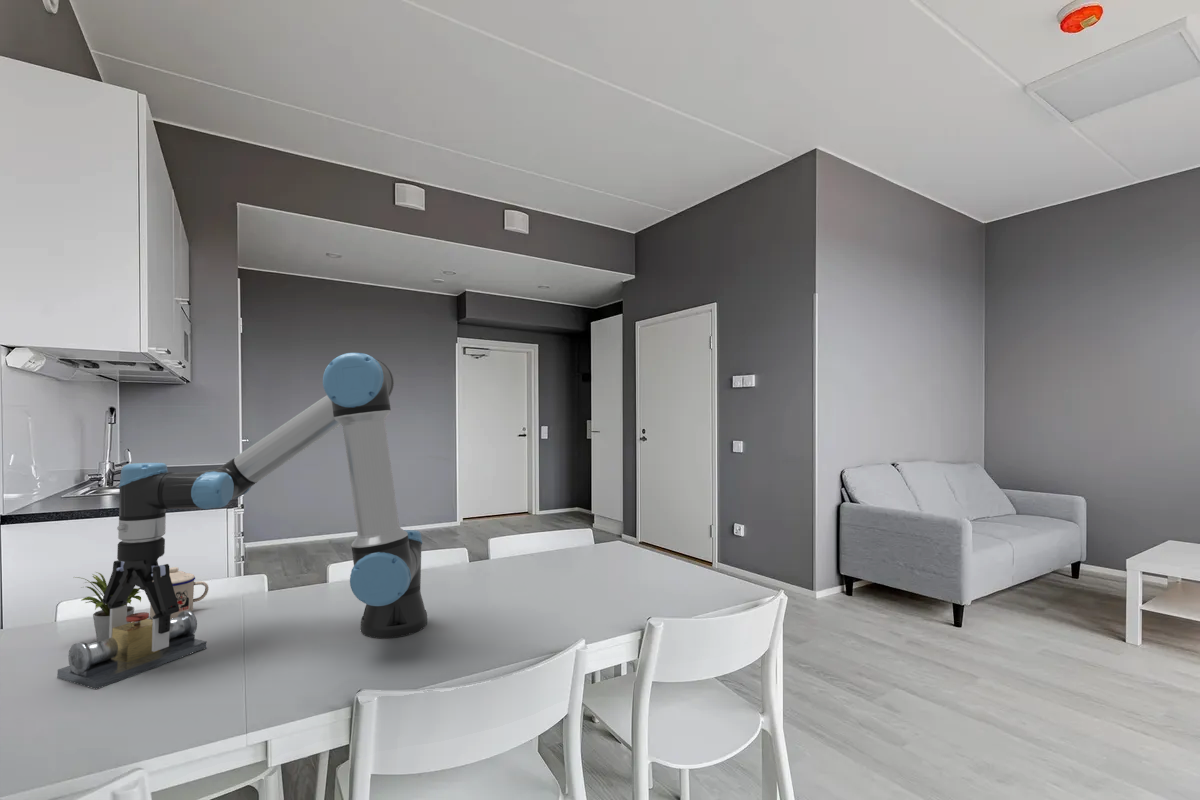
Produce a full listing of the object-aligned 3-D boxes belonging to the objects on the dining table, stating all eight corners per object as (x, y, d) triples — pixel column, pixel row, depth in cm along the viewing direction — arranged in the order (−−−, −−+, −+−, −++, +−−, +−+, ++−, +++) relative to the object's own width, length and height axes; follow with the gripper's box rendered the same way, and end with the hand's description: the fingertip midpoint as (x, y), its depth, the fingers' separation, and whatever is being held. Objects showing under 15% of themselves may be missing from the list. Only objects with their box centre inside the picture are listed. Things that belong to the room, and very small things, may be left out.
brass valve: (144, 647, 118) (146, 609, 118) (160, 651, 116) (161, 612, 117) (111, 658, 113) (113, 618, 113) (127, 662, 111) (128, 621, 111)
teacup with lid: (148, 623, 136) (150, 574, 136) (148, 613, 143) (150, 566, 143) (209, 613, 143) (210, 567, 144) (206, 604, 150) (207, 560, 151)
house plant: (51, 659, 115) (55, 579, 116) (70, 637, 127) (73, 563, 127) (141, 645, 123) (144, 570, 123) (150, 625, 134) (153, 556, 135)
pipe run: (169, 639, 126) (171, 606, 126) (206, 648, 122) (207, 614, 122) (57, 677, 107) (59, 638, 108) (95, 689, 103) (97, 648, 103)
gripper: (82, 537, 116) (79, 641, 116) (161, 547, 107) (158, 660, 107) (124, 530, 123) (121, 628, 123) (201, 540, 114) (198, 645, 114)
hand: (138, 644), depth 115 cm, fingers open, 13 cm apart
